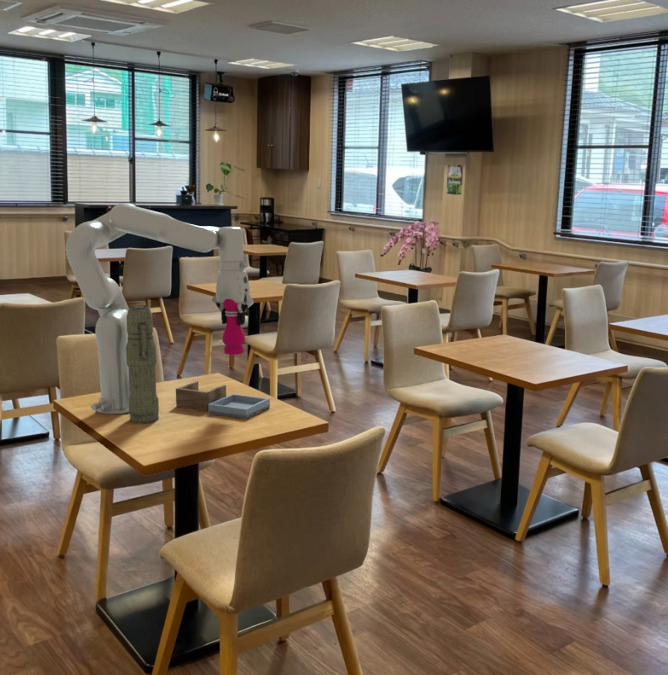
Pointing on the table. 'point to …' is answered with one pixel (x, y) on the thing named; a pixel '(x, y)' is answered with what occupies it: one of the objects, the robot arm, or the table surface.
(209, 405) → the slate tray
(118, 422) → the table surface
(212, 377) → the table surface
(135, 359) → the olive piece
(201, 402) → the walnut bay
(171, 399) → the table surface
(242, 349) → the pepper mill
